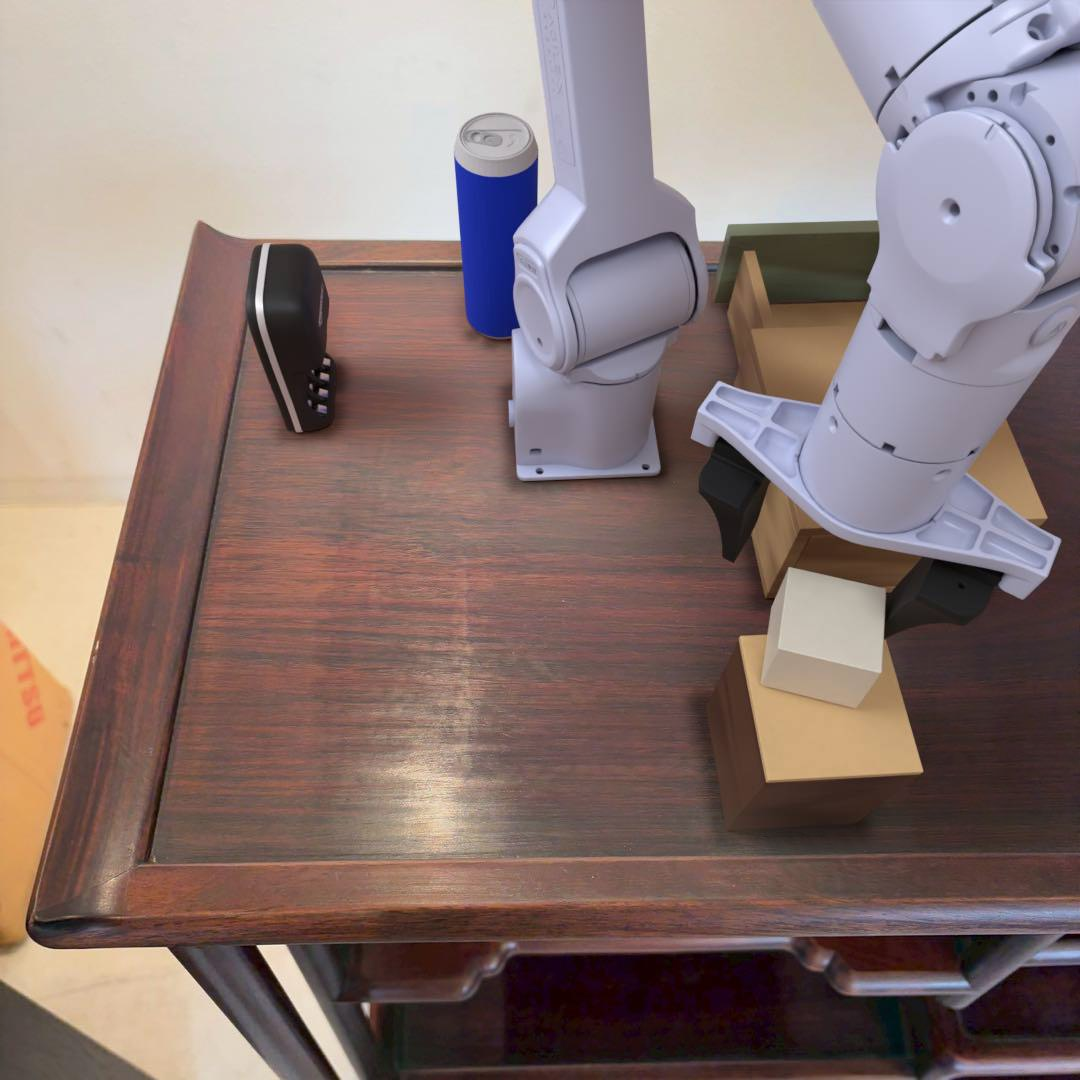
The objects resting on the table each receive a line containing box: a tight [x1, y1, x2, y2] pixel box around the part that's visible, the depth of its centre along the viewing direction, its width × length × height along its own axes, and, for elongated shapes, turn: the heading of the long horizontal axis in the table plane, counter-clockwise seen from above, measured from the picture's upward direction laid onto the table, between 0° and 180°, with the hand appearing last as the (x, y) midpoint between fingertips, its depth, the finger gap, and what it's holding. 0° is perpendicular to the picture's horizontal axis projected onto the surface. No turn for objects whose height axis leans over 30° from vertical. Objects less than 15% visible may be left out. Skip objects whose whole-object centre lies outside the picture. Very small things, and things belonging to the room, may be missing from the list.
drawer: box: [711, 219, 880, 367], centre depth 61 cm, size 15×12×6 cm
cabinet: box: [733, 325, 1049, 599], centre depth 55 cm, size 15×14×8 cm
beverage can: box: [453, 111, 539, 340], centre depth 60 cm, size 5×5×15 cm
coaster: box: [738, 634, 924, 783], centre depth 41 cm, size 7×7×1 cm
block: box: [760, 567, 887, 708], centre depth 40 cm, size 4×4×4 cm
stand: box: [705, 639, 921, 832], centre depth 45 cm, size 7×7×9 cm
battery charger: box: [245, 242, 337, 433], centre depth 57 cm, size 7×4×11 cm, turn 4°
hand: (808, 582), depth 43 cm, fingers open, 7 cm apart
